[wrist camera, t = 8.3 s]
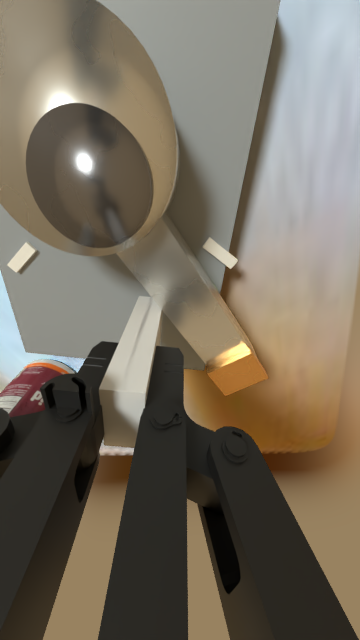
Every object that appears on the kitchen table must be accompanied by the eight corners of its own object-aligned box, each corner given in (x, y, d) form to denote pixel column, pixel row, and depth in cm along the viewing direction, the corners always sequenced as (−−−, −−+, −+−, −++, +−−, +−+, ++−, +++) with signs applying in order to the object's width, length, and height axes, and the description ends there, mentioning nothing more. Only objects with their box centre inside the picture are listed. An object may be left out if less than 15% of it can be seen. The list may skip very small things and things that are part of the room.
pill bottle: (90, 392, 20) (35, 504, 13) (44, 400, 21) (-31, 510, 14) (63, 351, 18) (-21, 459, 11) (13, 362, 19) (-96, 470, 12)
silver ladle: (-11, 136, 10) (-112, 110, 7) (103, -12, 8) (40, -162, 4) (192, 372, 16) (193, 418, 13) (286, 327, 14) (315, 368, 11)
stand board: (-64, -45, 9) (-118, -94, 7) (287, 2, 9) (307, -37, 7) (37, 340, 18) (23, 354, 16) (210, 358, 18) (212, 373, 16)
